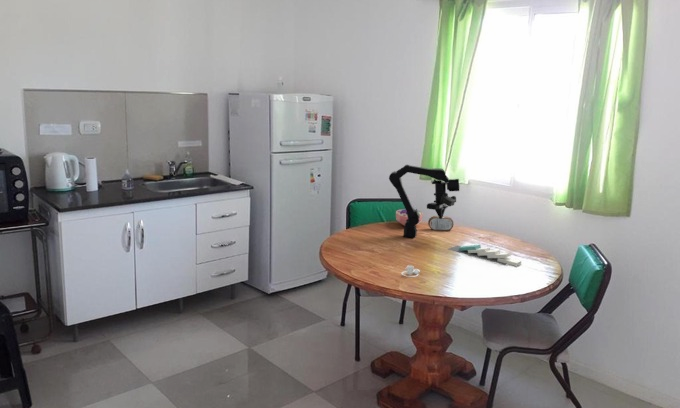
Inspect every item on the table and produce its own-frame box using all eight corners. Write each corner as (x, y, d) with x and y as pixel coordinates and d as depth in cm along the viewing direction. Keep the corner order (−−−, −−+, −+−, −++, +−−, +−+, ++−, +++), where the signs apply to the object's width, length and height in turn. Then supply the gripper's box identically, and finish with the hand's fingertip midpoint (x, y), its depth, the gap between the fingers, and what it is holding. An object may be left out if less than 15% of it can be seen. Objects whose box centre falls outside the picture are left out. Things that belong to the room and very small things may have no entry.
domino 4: (497, 258, 259) (516, 263, 253) (502, 256, 263) (521, 260, 256) (497, 261, 260) (516, 266, 253) (502, 259, 263) (521, 264, 256)
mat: (446, 249, 277) (447, 249, 277) (457, 246, 284) (457, 245, 284) (504, 265, 254) (504, 264, 254) (514, 261, 261) (514, 260, 261)
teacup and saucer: (418, 272, 243) (419, 263, 242) (422, 278, 235) (422, 269, 234) (399, 271, 243) (400, 263, 242) (402, 277, 235) (403, 269, 234)
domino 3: (487, 255, 263) (505, 254, 256) (492, 253, 267) (510, 252, 260) (487, 258, 263) (505, 257, 256) (492, 256, 267) (510, 255, 260)
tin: (452, 230, 317) (453, 216, 315) (453, 231, 314) (454, 218, 312) (427, 228, 319) (428, 215, 317) (427, 230, 316) (428, 216, 314)
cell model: (390, 227, 318) (391, 209, 316) (399, 220, 337) (400, 203, 334) (418, 231, 312) (419, 212, 310) (425, 223, 330) (426, 206, 328)
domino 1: (467, 250, 271) (484, 249, 264) (472, 248, 274) (489, 247, 267) (468, 253, 271) (485, 252, 264) (473, 251, 274) (490, 250, 267)
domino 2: (477, 252, 267) (495, 251, 260) (482, 250, 271) (499, 249, 263) (477, 255, 267) (495, 254, 260) (482, 253, 271) (500, 252, 263)
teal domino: (458, 247, 275) (475, 246, 267) (463, 245, 278) (480, 244, 271) (459, 250, 275) (475, 249, 267) (464, 248, 278) (480, 247, 271)
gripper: (442, 195, 279) (443, 224, 282) (462, 190, 292) (462, 217, 295) (425, 193, 287) (426, 221, 290) (445, 188, 300) (446, 215, 303)
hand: (440, 218), depth 294 cm, fingers closed
